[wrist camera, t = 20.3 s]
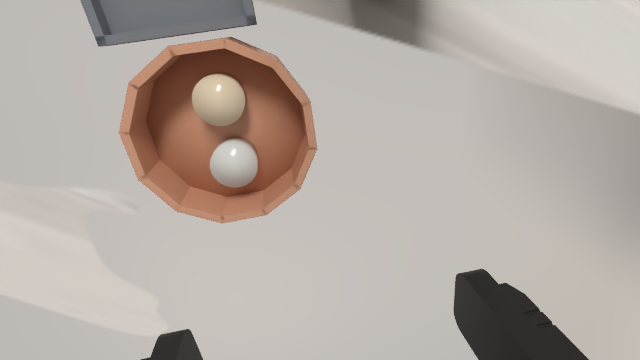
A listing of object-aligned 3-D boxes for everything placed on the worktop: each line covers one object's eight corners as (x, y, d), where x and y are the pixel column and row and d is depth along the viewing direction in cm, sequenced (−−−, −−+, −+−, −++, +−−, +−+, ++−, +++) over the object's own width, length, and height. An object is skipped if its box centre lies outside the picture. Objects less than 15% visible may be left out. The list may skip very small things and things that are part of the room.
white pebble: (208, 140, 36) (203, 148, 34) (253, 133, 37) (251, 140, 34) (220, 180, 39) (216, 191, 36) (262, 173, 39) (261, 183, 36)
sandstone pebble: (191, 74, 33) (185, 78, 31) (241, 68, 34) (238, 71, 31) (204, 122, 36) (199, 129, 33) (250, 116, 36) (249, 122, 33)
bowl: (115, 53, 32) (88, 57, 27) (295, 27, 34) (299, 27, 29) (173, 209, 40) (160, 234, 35) (318, 183, 41) (325, 203, 36)
